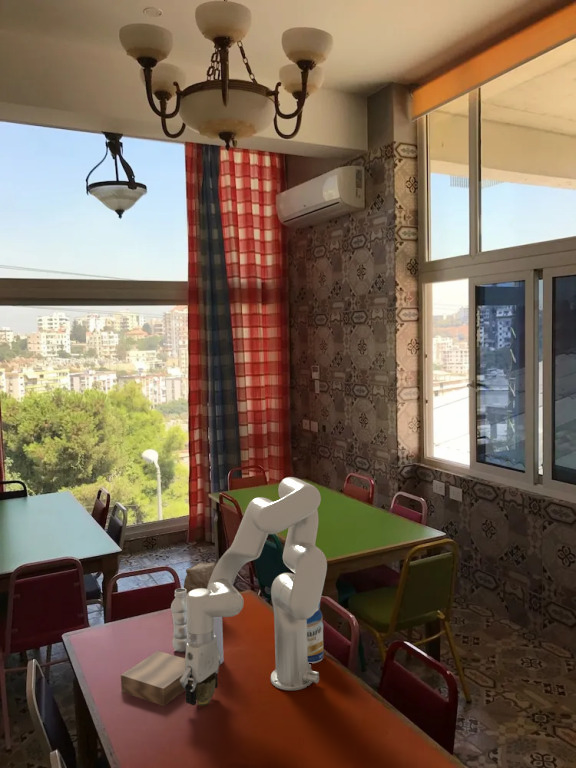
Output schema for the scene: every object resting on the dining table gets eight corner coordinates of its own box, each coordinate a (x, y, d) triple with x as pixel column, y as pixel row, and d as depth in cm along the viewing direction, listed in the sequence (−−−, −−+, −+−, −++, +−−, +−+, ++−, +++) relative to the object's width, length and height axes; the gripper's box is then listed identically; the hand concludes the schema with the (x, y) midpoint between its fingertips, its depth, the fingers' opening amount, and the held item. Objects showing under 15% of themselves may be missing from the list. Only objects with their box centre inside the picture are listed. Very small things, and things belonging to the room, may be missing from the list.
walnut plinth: (199, 678, 189) (199, 662, 189) (164, 706, 175) (163, 688, 175) (158, 666, 197) (157, 650, 197) (121, 691, 183) (120, 675, 183)
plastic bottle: (191, 654, 204) (189, 594, 203) (170, 654, 204) (168, 594, 203) (194, 644, 211) (192, 586, 209) (174, 645, 211) (172, 586, 209)
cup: (184, 707, 174) (183, 679, 174) (200, 693, 181) (199, 666, 180) (206, 713, 171) (205, 685, 170) (222, 700, 177) (221, 672, 177)
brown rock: (182, 627, 224) (180, 572, 223) (191, 612, 236) (189, 559, 235) (217, 627, 223) (215, 572, 221) (224, 612, 235) (222, 560, 234)
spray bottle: (227, 659, 200) (224, 591, 199) (217, 668, 195) (214, 599, 193) (210, 655, 203) (208, 589, 201) (200, 664, 197) (198, 596, 196)
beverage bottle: (324, 651, 204) (323, 591, 202) (323, 665, 195) (322, 602, 194) (298, 651, 204) (297, 590, 203) (296, 664, 196) (294, 601, 195)
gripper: (192, 651, 165) (193, 714, 166) (229, 625, 180) (230, 683, 181) (169, 645, 169) (171, 707, 170) (208, 620, 184) (209, 677, 185)
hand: (202, 694), depth 176 cm, fingers open, 9 cm apart
